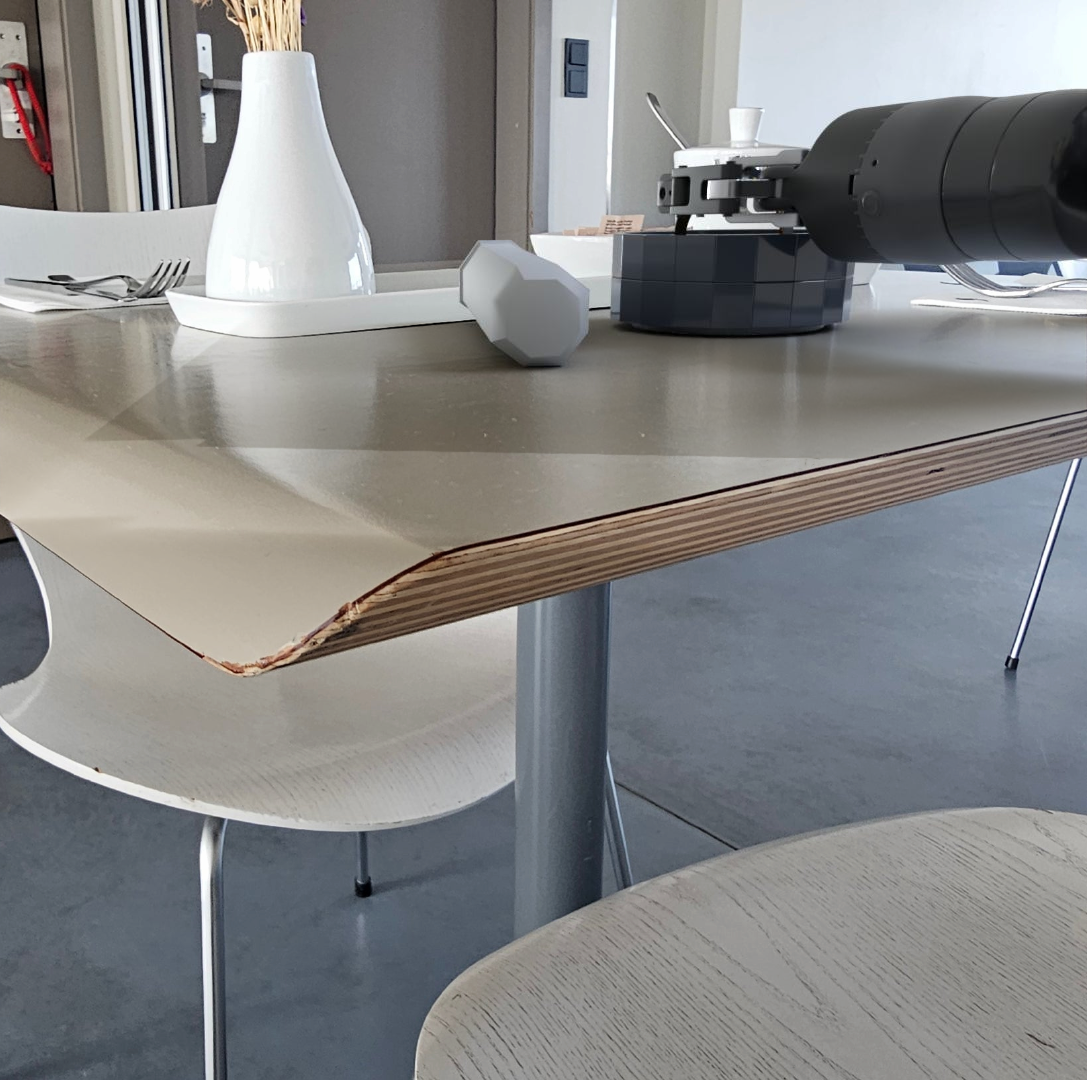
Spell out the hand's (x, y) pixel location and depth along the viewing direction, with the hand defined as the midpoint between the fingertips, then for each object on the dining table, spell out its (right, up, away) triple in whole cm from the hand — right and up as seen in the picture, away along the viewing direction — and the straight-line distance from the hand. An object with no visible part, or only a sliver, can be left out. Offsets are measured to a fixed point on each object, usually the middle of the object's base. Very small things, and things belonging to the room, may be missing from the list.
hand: (711, 193), depth 71 cm
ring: (+1, -6, 0) cm, 7 cm away
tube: (-12, -11, -6) cm, 17 cm away
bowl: (+1, -8, +1) cm, 8 cm away
